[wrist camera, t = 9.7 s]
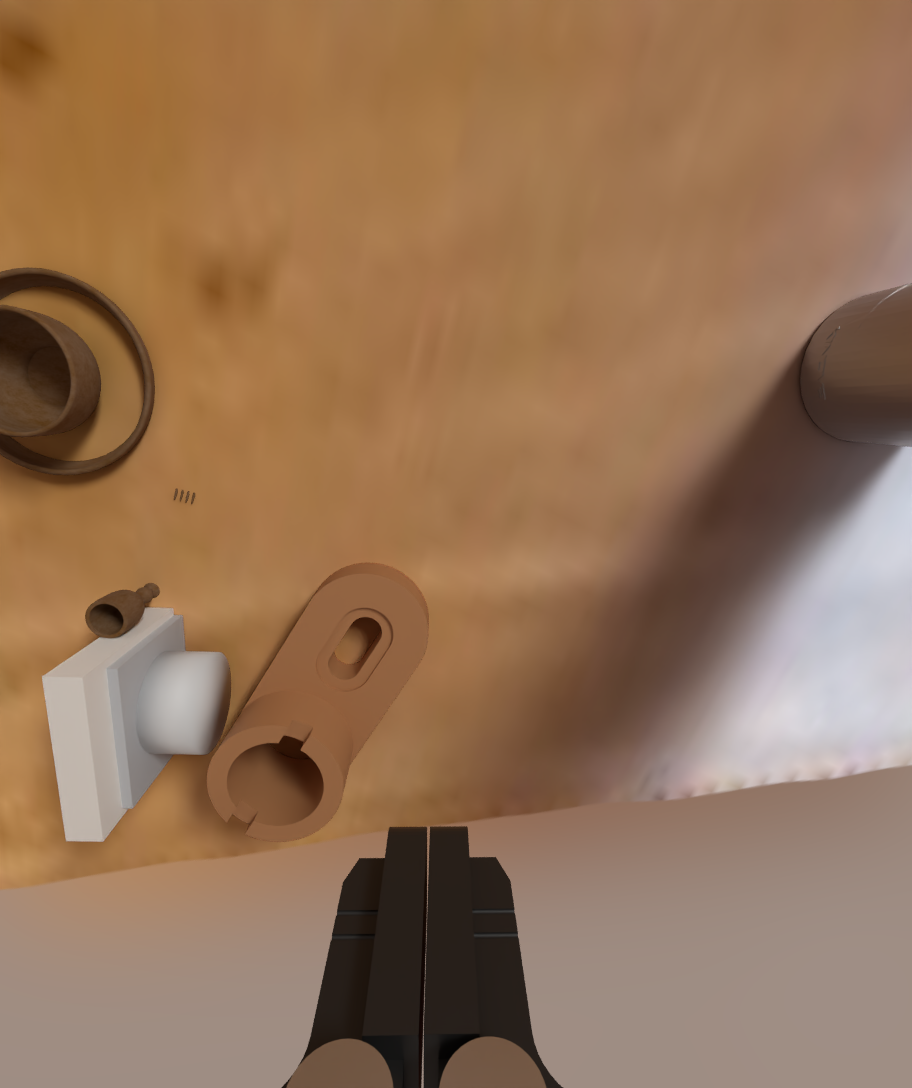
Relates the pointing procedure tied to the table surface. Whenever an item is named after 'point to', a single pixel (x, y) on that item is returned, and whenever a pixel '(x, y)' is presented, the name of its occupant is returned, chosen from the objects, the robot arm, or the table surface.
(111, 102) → the table surface
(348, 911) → the robot arm
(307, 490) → the table surface
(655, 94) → the table surface
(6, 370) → the place setting
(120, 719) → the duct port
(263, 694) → the bracket
